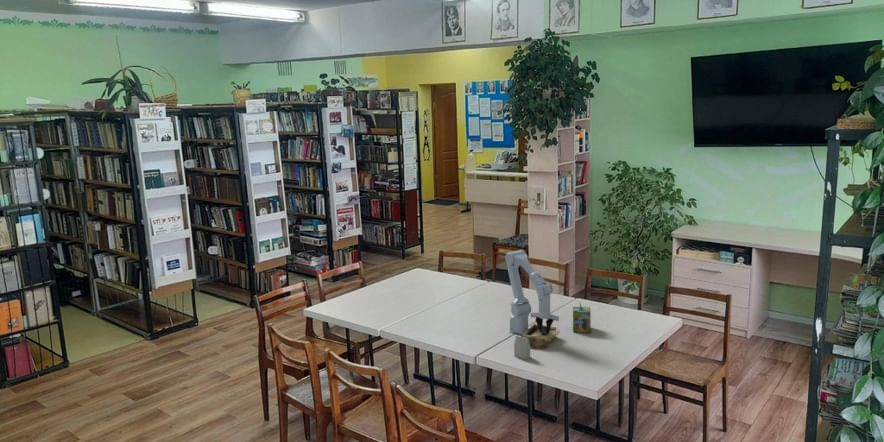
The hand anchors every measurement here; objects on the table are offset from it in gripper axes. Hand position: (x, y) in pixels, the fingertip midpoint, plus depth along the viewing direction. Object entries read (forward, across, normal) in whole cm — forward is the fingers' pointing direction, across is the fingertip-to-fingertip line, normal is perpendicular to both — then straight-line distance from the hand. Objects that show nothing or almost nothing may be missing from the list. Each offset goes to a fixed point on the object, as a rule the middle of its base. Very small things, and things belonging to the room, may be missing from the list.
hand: (544, 332), depth 311 cm
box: (+5, -3, 0) cm, 6 cm away
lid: (+2, 0, 0) cm, 2 cm away
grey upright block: (+6, -3, -22) cm, 23 cm away
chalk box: (+6, +12, +24) cm, 27 cm away
